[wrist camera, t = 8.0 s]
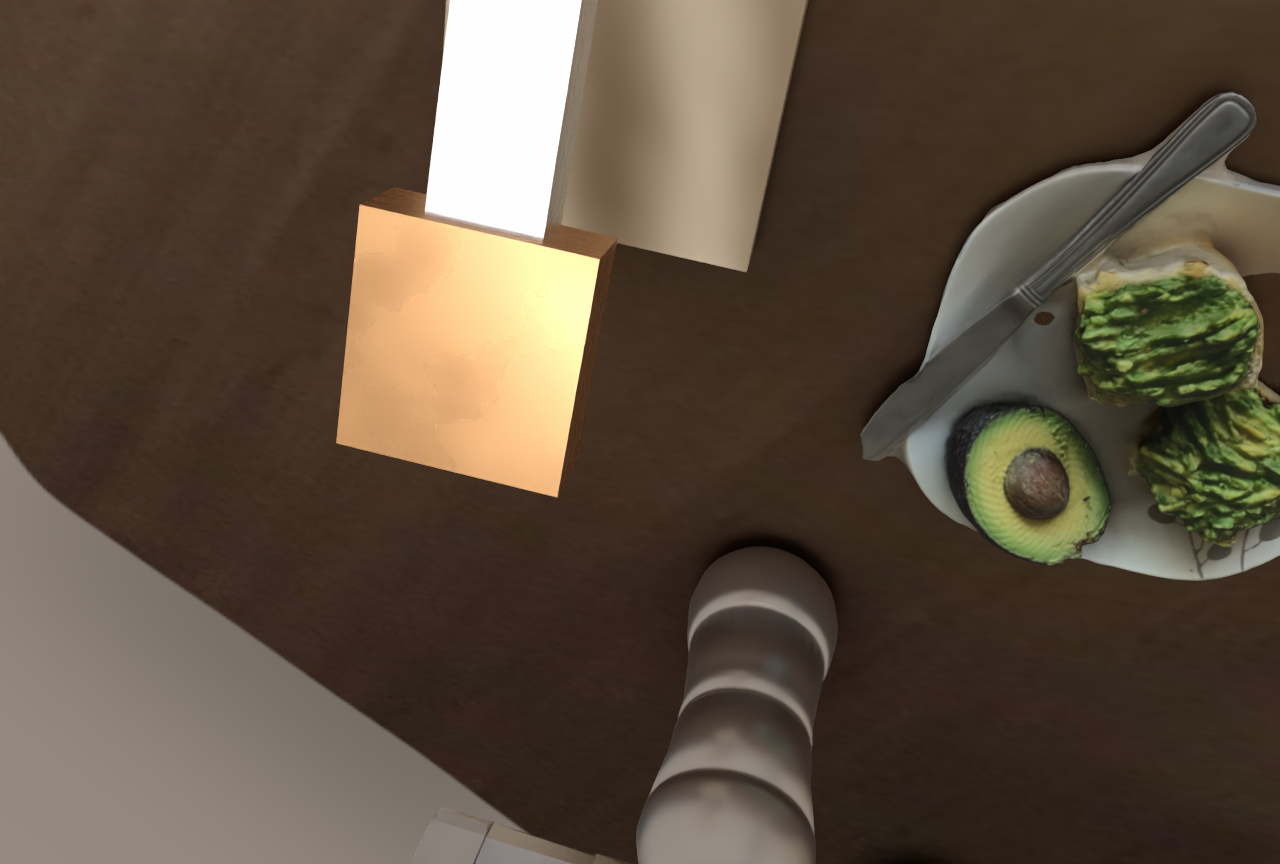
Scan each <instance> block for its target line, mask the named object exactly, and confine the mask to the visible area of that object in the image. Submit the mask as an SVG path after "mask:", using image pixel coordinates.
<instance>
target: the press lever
mask: <svg viewBox="0 0 1280 864" xmlns="http://www.w3.org/2000/svg"><path fill="white" fill-rule="evenodd" d="M597 5H598V0H450V5H449V13H448V21H447V30H446V38H445V47H444V55H443V63H442V72H441V80H440V89H439V97H438V105H437V114H436V122H435V130H434V139H433V147H432V156H431V164H430V172H429V181H428V189H427V195H426V194H422V193H417V192H413V191H409V190H404V189H400V188H395V187H394V188H392V189H390V190H388V191H386V192H384V193H382V194H380V195H378V196H376V197H374V198H372V199H370V200H368V201H366V202H364V203H362V204H360V208H359V218H358V228H357V238H356V248H355V259H354V269H353V279H352V289H351V299H350V310H349V320H348V330H347V340H346V350H345V360H344V371H343V381H342V391H341V401H340V411H339V422H338V432H337V442H336V443H338V444H342V445H346V446H350V447H354V448H358V449H362V450H366V451H370V452H374V453H378V454H382V455H387V456H391V457H395V458H399V459H403V460H407V461H411V462H415V463H419V464H423V465H427V466H431V467H435V468H440V469H444V470H448V471H452V472H456V473H460V474H464V475H468V476H472V477H476V478H480V479H484V480H489V481H493V482H497V483H501V484H505V485H509V486H513V487H517V488H521V489H525V490H529V491H533V492H538V493H542V494H546V495H550V496H554V497H558V495H559V493H560V492H561V490H562V488H563V486H564V484H565V483H566V481H567V479H568V477H569V475H570V474H571V472H572V470H573V468H574V466H575V465H576V463H577V459H578V453H579V448H580V442H581V437H582V432H583V426H584V421H585V415H586V410H587V404H588V399H589V393H590V388H591V382H592V377H593V371H594V366H595V361H596V355H597V350H598V344H599V339H600V333H601V328H602V322H603V317H604V311H605V306H606V300H607V295H608V289H609V284H610V279H611V273H612V268H613V262H614V257H615V251H616V246H617V240H618V238H616V237H612V236H608V235H603V234H599V233H594V232H590V231H586V230H581V229H577V228H572V227H568V226H563V225H561V224H562V218H563V212H564V206H565V200H566V194H567V188H568V182H569V176H570V170H571V163H572V157H573V151H574V145H575V139H576V133H577V127H578V121H579V115H580V109H581V102H582V96H583V90H584V84H585V78H586V72H587V66H588V60H589V54H590V48H591V41H592V35H593V29H594V23H595V17H596V11H597Z"/></svg>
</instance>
